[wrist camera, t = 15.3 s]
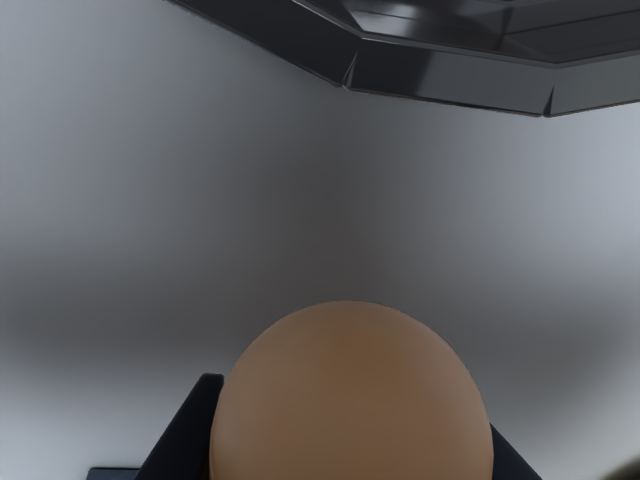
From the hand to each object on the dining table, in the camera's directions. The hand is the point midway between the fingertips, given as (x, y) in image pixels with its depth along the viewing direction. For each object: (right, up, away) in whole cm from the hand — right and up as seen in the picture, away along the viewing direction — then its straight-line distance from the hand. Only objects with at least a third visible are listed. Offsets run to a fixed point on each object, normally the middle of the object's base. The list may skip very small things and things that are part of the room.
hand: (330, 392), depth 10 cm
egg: (0, 0, 0) cm, 0 cm away
